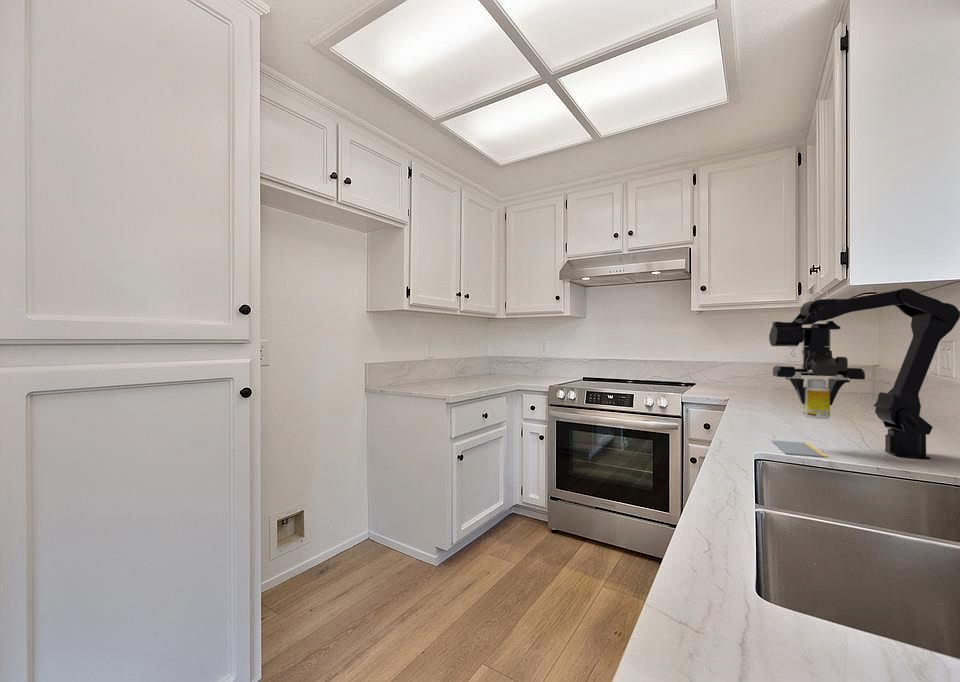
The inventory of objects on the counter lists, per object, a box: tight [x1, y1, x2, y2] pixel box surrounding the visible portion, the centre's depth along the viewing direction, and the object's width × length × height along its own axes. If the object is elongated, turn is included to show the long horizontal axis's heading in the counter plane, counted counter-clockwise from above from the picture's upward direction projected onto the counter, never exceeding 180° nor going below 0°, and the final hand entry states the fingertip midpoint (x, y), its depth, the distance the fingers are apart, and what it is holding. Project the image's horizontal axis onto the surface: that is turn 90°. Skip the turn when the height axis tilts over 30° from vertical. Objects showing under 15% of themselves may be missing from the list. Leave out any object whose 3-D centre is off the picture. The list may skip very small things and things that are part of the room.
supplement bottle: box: [803, 378, 831, 420], centre depth 113 cm, size 6×6×10 cm
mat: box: [771, 440, 829, 458], centre depth 114 cm, size 9×15×1 cm, turn 157°
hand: (816, 404), depth 113 cm, fingers closed on supplement bottle, 6 cm apart
